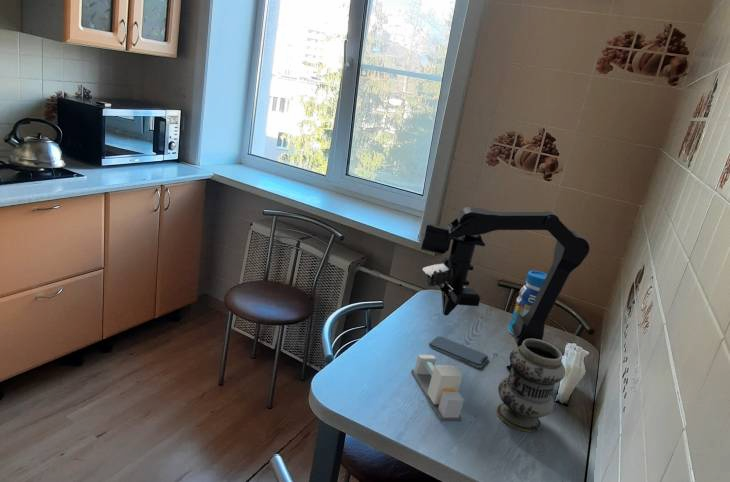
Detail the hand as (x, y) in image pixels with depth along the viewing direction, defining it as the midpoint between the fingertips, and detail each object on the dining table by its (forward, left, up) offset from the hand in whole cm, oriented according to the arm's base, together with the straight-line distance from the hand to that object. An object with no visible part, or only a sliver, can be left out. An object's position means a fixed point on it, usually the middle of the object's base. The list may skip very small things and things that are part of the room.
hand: (445, 314), depth 133 cm
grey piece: (+7, +17, -12) cm, 22 cm away
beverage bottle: (-35, -14, -12) cm, 40 cm away
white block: (+7, +20, -11) cm, 24 cm away
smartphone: (-8, -2, -13) cm, 15 cm away
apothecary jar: (-11, +25, -12) cm, 30 cm away
